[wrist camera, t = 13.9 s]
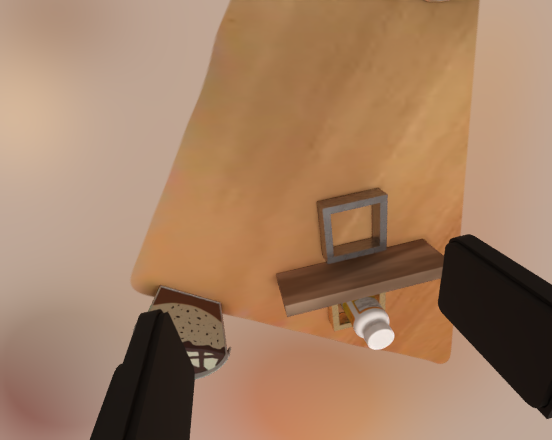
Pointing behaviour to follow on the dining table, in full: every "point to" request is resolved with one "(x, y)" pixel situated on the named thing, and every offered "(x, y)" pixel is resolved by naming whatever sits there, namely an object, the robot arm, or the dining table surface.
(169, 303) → the food container
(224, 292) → the dining table surface
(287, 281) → the brown wooden plank
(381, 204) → the double square frame
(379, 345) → the supplement bottle
